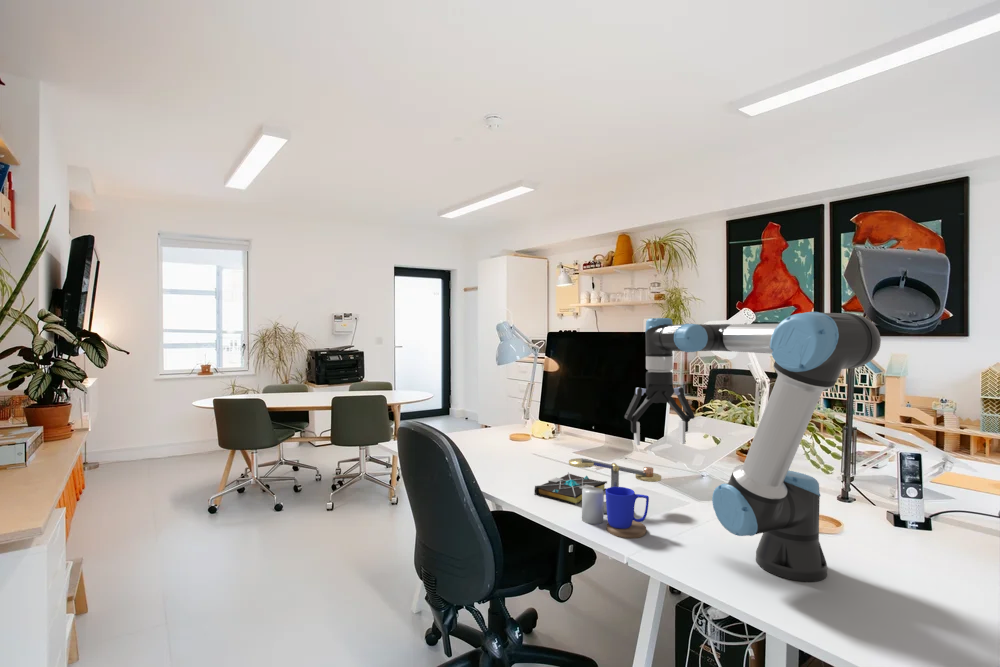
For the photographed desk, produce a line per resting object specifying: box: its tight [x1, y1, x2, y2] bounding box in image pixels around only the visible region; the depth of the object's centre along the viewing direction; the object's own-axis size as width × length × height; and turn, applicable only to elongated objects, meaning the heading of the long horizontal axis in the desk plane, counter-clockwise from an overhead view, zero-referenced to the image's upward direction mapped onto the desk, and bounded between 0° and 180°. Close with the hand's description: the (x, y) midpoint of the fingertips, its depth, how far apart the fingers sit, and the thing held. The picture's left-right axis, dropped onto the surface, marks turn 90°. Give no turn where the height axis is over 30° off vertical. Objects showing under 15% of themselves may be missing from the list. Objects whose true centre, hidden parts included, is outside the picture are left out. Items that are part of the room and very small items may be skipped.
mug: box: [605, 486, 650, 529], centre depth 147 cm, size 8×12×10 cm
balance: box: [568, 457, 662, 515], centre depth 164 cm, size 8×30×16 cm, turn 92°
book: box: [533, 471, 608, 506], centre depth 181 cm, size 22×17×5 cm
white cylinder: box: [581, 487, 605, 525], centre depth 155 cm, size 6×6×9 cm
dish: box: [606, 520, 647, 539], centre depth 147 cm, size 11×11×1 cm
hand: (659, 443), depth 150 cm, fingers open, 13 cm apart
